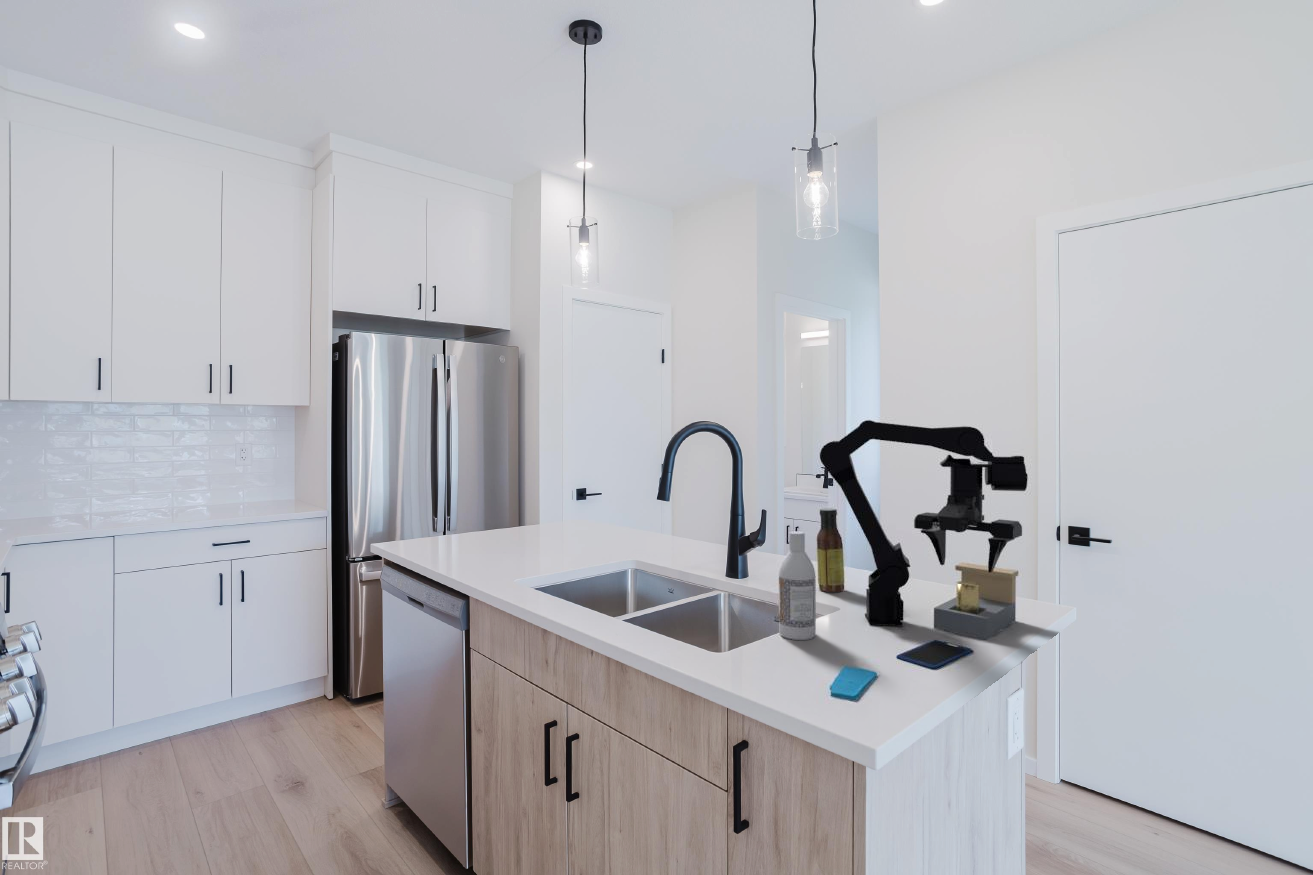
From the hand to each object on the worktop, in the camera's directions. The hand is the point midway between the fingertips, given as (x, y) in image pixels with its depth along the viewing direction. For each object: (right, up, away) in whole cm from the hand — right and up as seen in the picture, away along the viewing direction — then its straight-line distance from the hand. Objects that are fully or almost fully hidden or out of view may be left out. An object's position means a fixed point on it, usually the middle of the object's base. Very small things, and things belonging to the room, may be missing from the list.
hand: (965, 568), depth 129 cm
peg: (0, -11, 0) cm, 11 cm away
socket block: (+3, -12, +3) cm, 12 cm away
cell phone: (-12, -13, -14) cm, 23 cm away
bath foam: (-34, -13, -3) cm, 36 cm away
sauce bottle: (-19, -12, +30) cm, 37 cm away
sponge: (-31, -14, -26) cm, 43 cm away
